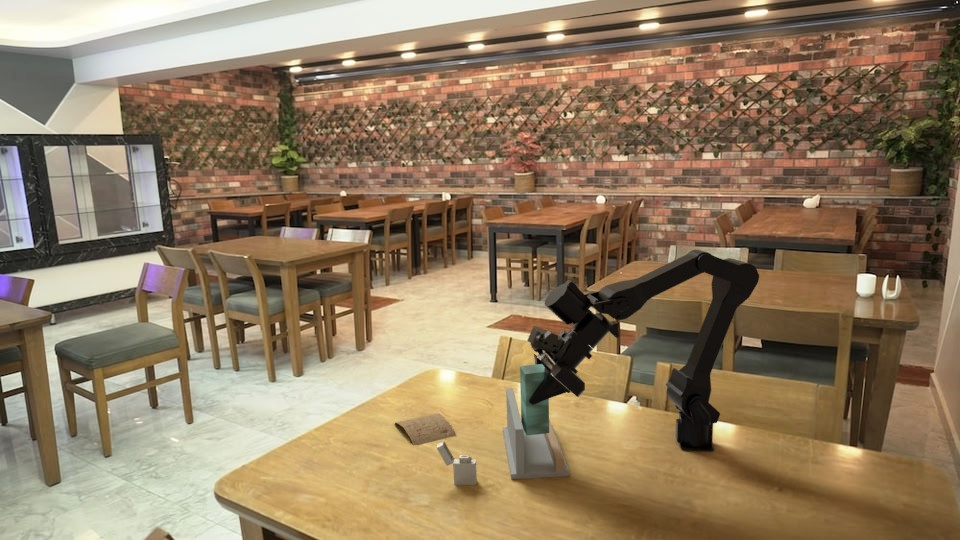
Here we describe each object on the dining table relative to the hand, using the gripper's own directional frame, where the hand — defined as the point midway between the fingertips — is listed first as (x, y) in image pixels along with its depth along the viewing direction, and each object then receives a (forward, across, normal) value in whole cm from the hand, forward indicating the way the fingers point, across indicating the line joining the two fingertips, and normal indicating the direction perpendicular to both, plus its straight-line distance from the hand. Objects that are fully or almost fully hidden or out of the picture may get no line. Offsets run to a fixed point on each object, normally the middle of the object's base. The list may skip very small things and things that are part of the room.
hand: (527, 398), depth 118 cm
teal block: (+4, 0, +6) cm, 7 cm away
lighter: (+20, +4, -1) cm, 21 cm away
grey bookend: (+8, -4, +11) cm, 14 cm away
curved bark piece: (+24, -19, -4) cm, 31 cm away
